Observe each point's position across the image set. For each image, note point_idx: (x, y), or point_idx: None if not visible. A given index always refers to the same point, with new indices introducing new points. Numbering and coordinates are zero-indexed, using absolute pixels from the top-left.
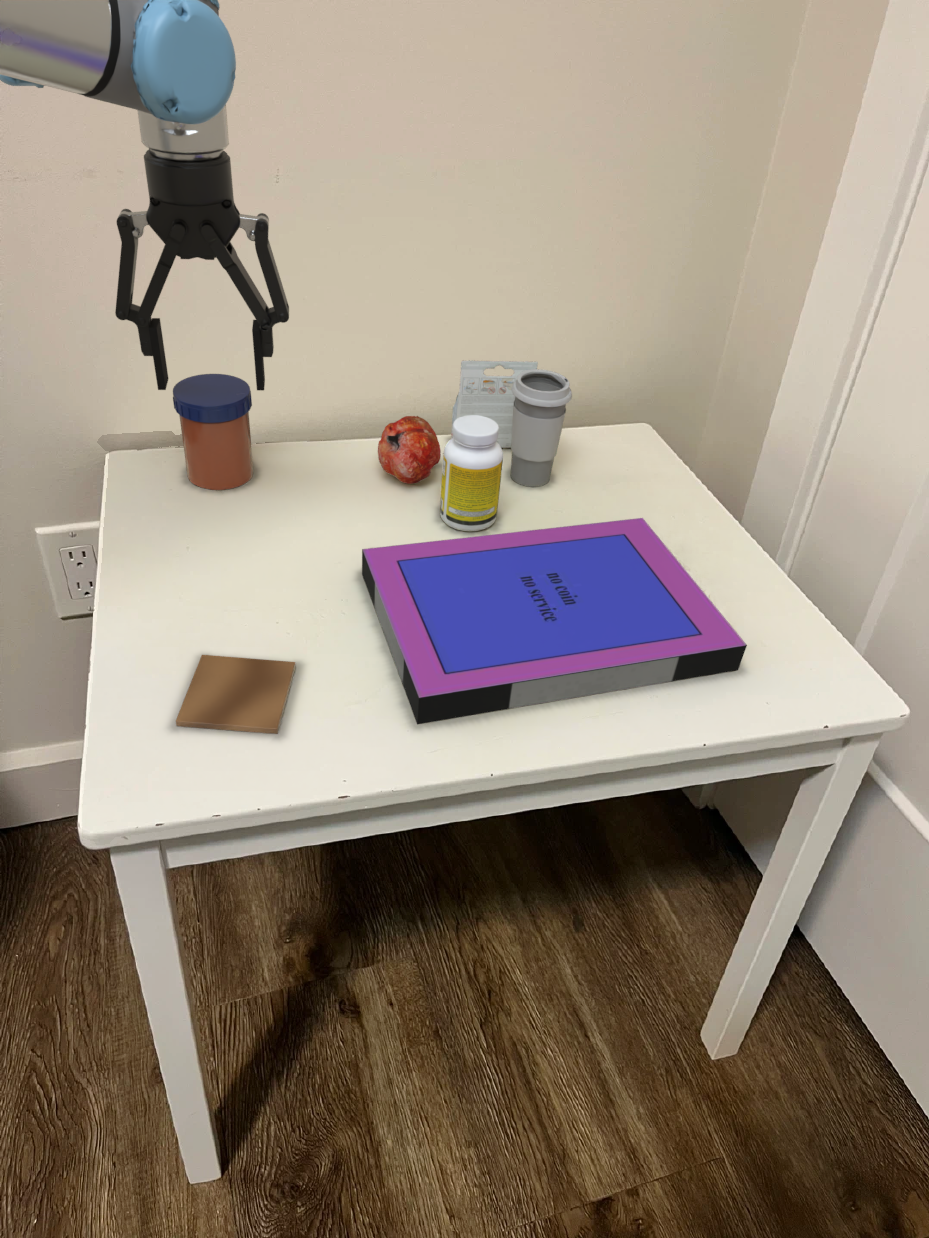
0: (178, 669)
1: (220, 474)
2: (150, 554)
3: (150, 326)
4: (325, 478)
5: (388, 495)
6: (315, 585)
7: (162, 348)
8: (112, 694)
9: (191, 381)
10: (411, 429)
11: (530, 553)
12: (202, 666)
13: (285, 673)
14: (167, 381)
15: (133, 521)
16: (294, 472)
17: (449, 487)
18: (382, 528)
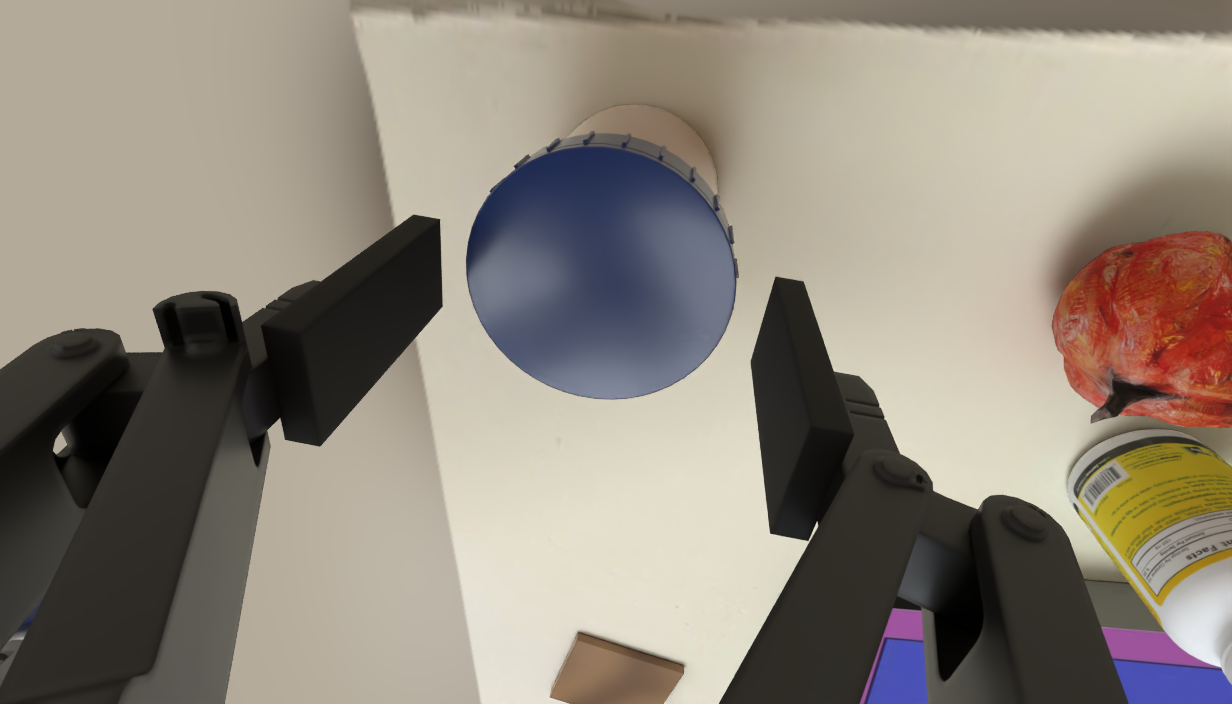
0: (551, 635)
1: None
2: (498, 443)
3: (285, 422)
4: (892, 261)
5: (1010, 361)
6: (749, 561)
7: (377, 310)
8: (484, 645)
9: (525, 214)
10: (1213, 399)
11: (1130, 675)
12: (576, 654)
13: (668, 683)
14: (439, 248)
15: (456, 347)
16: (822, 218)
17: (1119, 563)
18: (929, 464)
